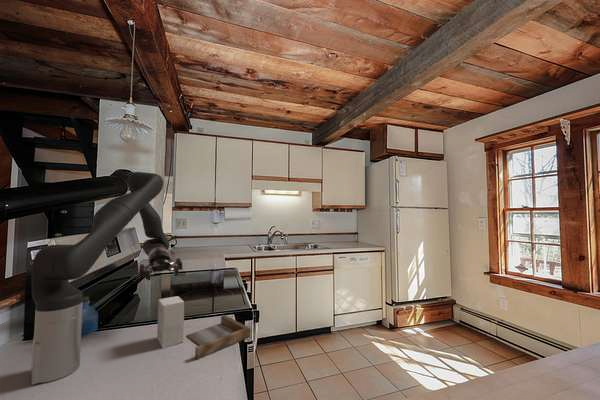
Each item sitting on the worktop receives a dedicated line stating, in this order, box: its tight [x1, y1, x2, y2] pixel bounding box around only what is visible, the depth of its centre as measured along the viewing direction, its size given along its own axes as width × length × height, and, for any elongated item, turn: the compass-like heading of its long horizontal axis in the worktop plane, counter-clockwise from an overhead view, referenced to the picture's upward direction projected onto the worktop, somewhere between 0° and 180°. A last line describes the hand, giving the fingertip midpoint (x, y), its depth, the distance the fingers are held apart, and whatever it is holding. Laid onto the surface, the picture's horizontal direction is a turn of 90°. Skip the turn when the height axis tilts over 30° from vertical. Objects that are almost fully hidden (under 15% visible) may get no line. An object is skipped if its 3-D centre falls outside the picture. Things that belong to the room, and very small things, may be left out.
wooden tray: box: [186, 314, 252, 360], centre depth 86 cm, size 18×16×3 cm
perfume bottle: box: [81, 296, 99, 338], centre depth 90 cm, size 6×6×12 cm
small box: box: [156, 295, 185, 349], centre depth 85 cm, size 8×6×13 cm
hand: (163, 275), depth 92 cm, fingers open, 8 cm apart
